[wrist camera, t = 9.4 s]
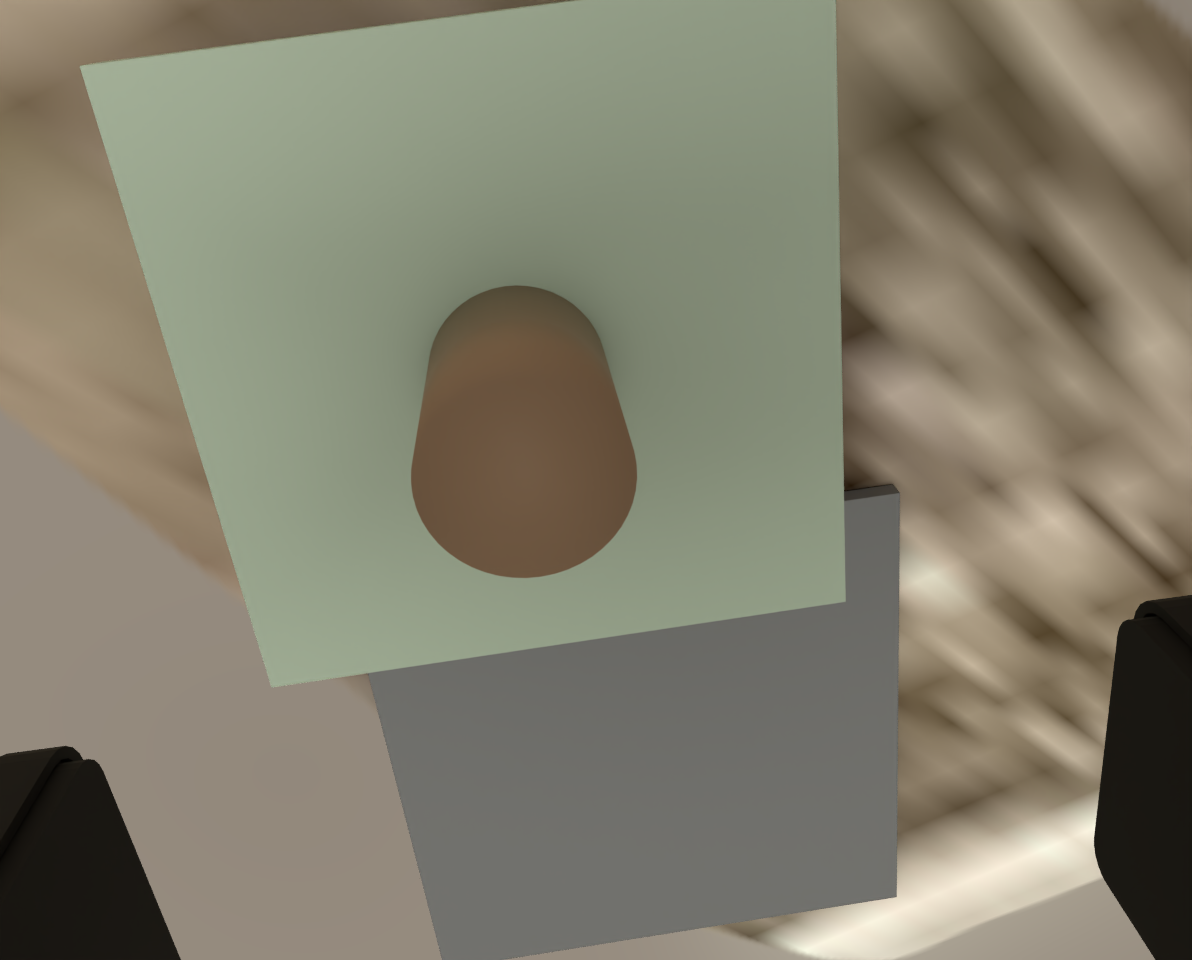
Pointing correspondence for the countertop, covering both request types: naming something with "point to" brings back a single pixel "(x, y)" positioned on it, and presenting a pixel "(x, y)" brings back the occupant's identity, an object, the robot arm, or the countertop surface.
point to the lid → (502, 319)
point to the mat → (659, 769)
